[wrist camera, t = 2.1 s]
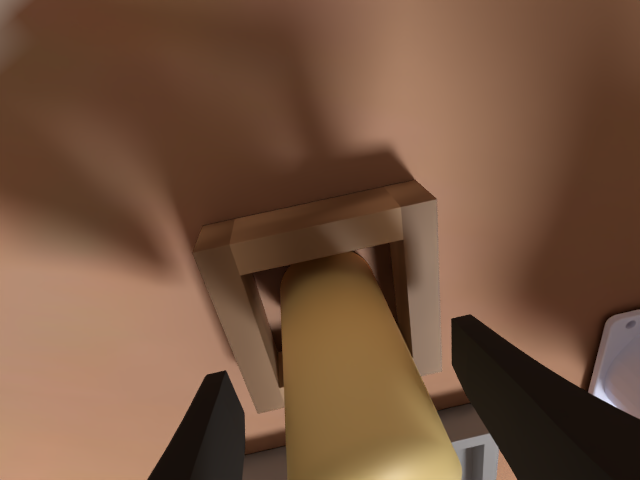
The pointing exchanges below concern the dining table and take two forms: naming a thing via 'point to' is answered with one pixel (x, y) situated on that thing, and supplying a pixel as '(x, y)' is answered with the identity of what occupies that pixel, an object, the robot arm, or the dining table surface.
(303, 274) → the pin
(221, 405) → the robot arm
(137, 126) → the dining table surface
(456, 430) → the tray
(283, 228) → the socket block
